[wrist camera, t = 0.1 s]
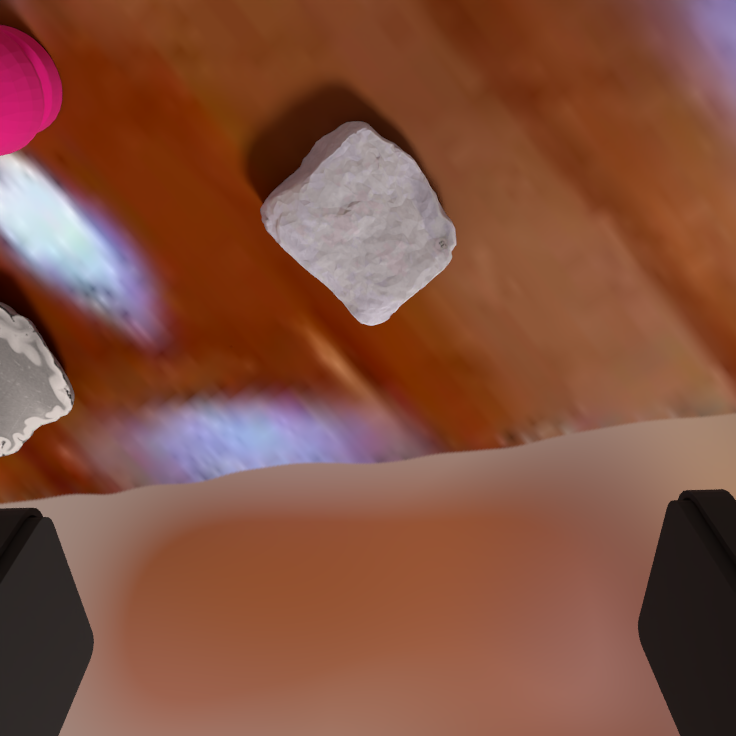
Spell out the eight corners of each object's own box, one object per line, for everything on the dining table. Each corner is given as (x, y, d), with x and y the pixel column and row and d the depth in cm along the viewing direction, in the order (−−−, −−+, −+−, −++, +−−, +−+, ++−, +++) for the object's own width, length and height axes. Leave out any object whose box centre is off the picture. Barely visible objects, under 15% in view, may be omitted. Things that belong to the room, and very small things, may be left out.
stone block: (352, 99, 43) (248, 209, 44) (364, 100, 38) (249, 222, 40) (465, 225, 47) (368, 321, 49) (487, 239, 43) (380, 344, 45)
